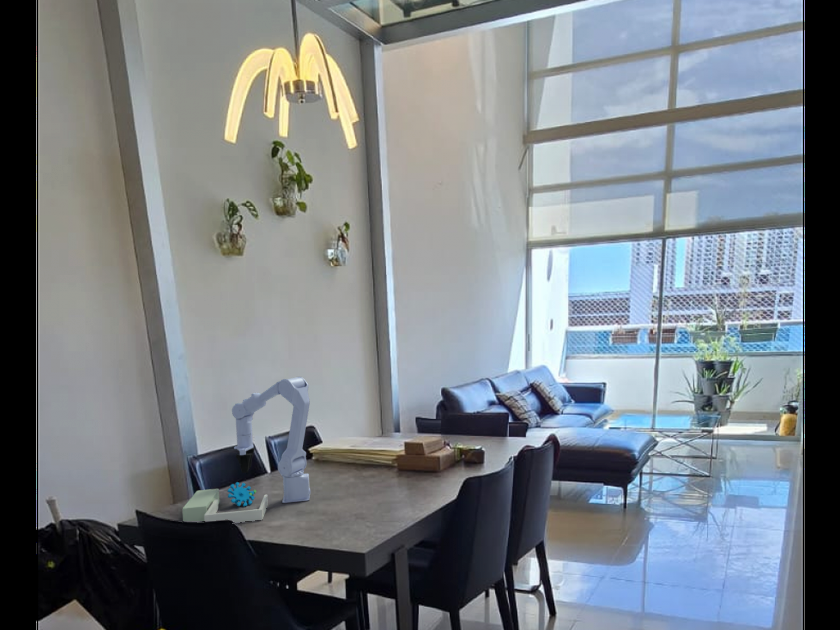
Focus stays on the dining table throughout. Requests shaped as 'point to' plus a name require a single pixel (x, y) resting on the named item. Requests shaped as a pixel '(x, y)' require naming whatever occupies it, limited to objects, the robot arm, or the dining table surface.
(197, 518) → the pale green rounded block
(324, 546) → the dining table surface
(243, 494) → the gear
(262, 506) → the shallow white tray
